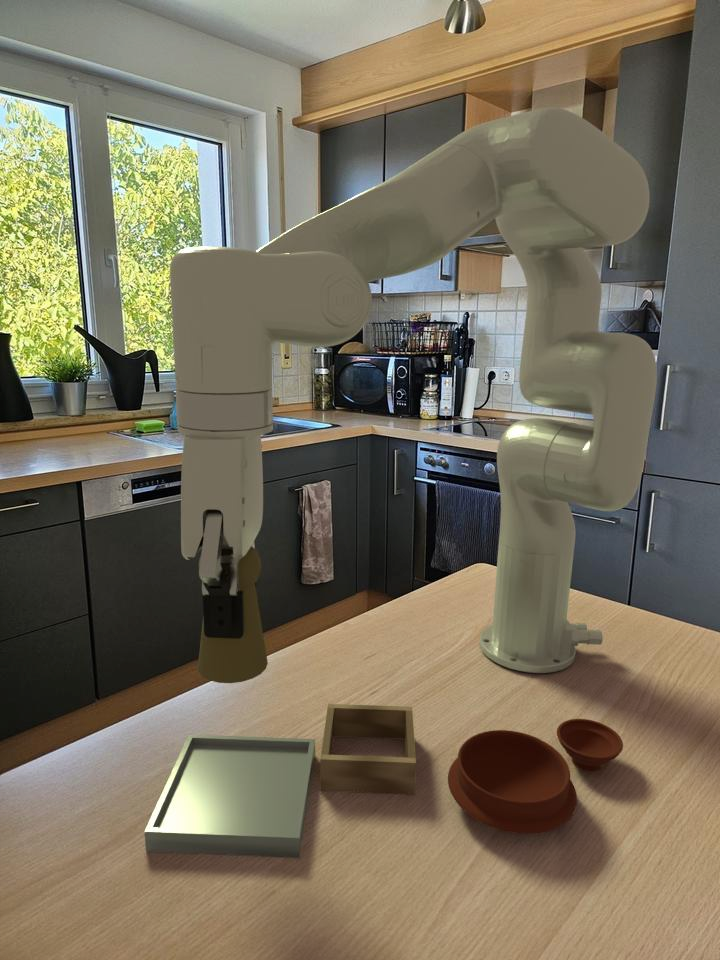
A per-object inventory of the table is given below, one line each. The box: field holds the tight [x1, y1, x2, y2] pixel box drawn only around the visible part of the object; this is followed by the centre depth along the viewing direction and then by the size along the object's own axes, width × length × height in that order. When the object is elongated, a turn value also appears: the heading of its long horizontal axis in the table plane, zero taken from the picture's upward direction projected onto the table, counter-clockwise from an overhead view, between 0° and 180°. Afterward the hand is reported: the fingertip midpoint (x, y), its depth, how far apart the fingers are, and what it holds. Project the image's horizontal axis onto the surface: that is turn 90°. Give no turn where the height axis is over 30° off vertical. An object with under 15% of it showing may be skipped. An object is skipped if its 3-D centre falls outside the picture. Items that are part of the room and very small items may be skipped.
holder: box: [319, 703, 417, 795], centre depth 67 cm, size 9×9×4 cm
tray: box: [144, 734, 316, 859], centre depth 61 cm, size 13×13×2 cm
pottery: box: [447, 718, 624, 835], centre depth 64 cm, size 12×20×4 cm, turn 123°
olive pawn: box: [197, 546, 269, 684], centre depth 57 cm, size 6×6×11 cm
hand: (231, 618), depth 57 cm, fingers closed on olive pawn, 4 cm apart
